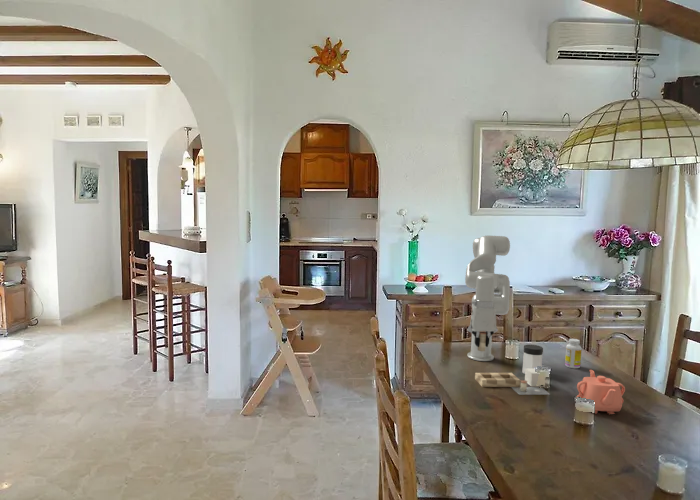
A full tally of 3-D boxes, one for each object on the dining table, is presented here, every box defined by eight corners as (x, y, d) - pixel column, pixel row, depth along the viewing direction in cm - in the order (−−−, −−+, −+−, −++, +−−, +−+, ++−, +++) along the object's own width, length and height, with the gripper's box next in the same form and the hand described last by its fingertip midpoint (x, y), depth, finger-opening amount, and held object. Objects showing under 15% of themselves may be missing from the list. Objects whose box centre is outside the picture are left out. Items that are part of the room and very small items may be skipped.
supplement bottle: (581, 366, 241) (583, 339, 240) (579, 369, 236) (581, 342, 234) (566, 363, 245) (568, 337, 244) (563, 367, 239) (565, 340, 238)
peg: (476, 348, 222) (477, 331, 221) (483, 348, 222) (484, 331, 221) (478, 351, 219) (480, 333, 218) (486, 351, 219) (487, 333, 218)
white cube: (524, 381, 218) (525, 368, 217) (538, 381, 218) (539, 368, 218) (531, 387, 211) (532, 373, 211) (545, 387, 212) (546, 373, 211)
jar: (545, 374, 228) (547, 347, 227) (535, 377, 223) (537, 350, 222) (527, 368, 235) (529, 343, 234) (517, 371, 230) (519, 345, 229)
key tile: (510, 387, 210) (511, 377, 209) (541, 387, 211) (542, 377, 211) (518, 395, 202) (519, 384, 202) (550, 395, 203) (551, 384, 203)
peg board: (474, 379, 218) (475, 372, 218) (511, 379, 220) (511, 372, 219) (482, 387, 209) (482, 380, 209) (519, 387, 211) (520, 380, 210)
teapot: (588, 398, 201) (590, 367, 200) (632, 412, 188) (634, 379, 187) (567, 406, 192) (570, 373, 191) (612, 422, 179) (615, 387, 178)
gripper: (468, 306, 213) (465, 348, 216) (506, 306, 215) (503, 348, 217) (462, 302, 221) (460, 343, 223) (499, 302, 222) (496, 343, 225)
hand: (481, 345), depth 220 cm, fingers closed on peg, 3 cm apart
